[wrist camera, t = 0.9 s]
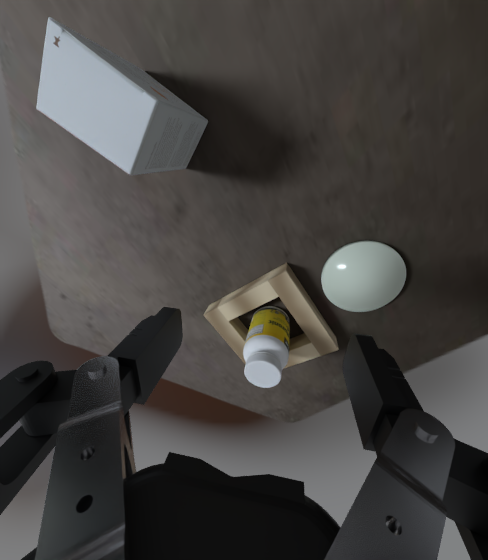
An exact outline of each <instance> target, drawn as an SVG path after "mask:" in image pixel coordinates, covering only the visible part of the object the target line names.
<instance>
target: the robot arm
mask: <svg viewBox="0 0 488 560" xmlns="http://www.w3.org/2000/svg"><path fill="white" fill-rule="evenodd" d="M182 337H183V334H182V320H181V311H180V309H176V308H168V307H163V308H162V309H161V310H160V311H159V312H158V313H157V314H156V315H155V316H150V317H148V318H146V319H144V320H143V321H141V322H140V323H139V324H138V325H137V326H136V327H135V329H133V330H132V331H131V332H130V333H129V335H127V336H126V337H125V339H124V340H123V341H122V342H121V343H120V344H119V345H118V346H117V347H116V348H115V349H114V350H113V351H112V352H111V353H110V354H109V355H108V356H101V357H97V358H94V359H91V360H89V361H88V362H85V363H84V364H83V365H81V366H80V367H79V368H78V369H77V370H69V371H58V372H55V370H54V367H53V365H52V363H50V362H48V361H35V362H31V363H28V364H25V365H23V366H20V367H19V368H17V369H15V370H13V371H12V372H10V373H9V374H8V375H6V376H5V377H4V378H2V379H1V380H0V438H1V437H2V436H3V435H4V434H5V433H6V432H7V431H8V430H9V429H10V428H11V427H12V426H13V425H14V424H16V422H18V420H19V421H20V423H21V424H22V426H21V427H20V428H19V429H18V430H17V431H16V432H15V433H14V434H13V435H12V436H11V437H10V438H9V439H8V440H7V441H6V442H5V443H4V444H3V445H2V446H1V447H0V515H1V513H2V512H3V511H4V509H5V508H6V507H7V506H8V505H9V503H10V502H11V501H12V500H13V498H14V497H15V496H16V494H17V493H18V492H19V490H20V489H21V488H22V487H23V485H24V484H25V483H26V482H27V480H28V479H29V478H30V477H31V475H32V474H33V473H34V472H35V470H36V469H37V468H38V467H39V465H40V464H41V463H42V462H43V460H44V459H45V458H46V457H47V455H48V454H49V453H50V451H51V450H52V449H53V448H54V447H55V450H54V455H53V461H52V466H51V472H50V478H49V483H48V489H47V495H46V500H45V506H44V511H43V517H42V522H41V528H40V534H39V539H38V545H37V547H36V548H35V549H34V550H33V551H31V552H30V553H29V554H27V555H26V556H25V557H23V558H22V559H21V560H437V557H438V552H439V548H440V543H441V538H442V534H443V529H444V525H445V520H446V517H448V518H450V519H452V520H454V521H455V523H456V526H457V528H458V530H459V532H460V535H461V537H462V539H463V542H464V544H465V546H466V549H467V551H468V554H469V556H470V558H471V560H488V453H486V452H484V451H481V450H479V449H477V448H474V447H472V446H469V445H467V444H465V443H462V442H460V441H458V440H456V439H454V438H453V436H452V434H451V433H450V431H449V430H448V429H447V428H446V427H445V426H444V425H443V424H442V423H441V422H440V421H439V420H437V419H436V418H435V417H433V416H432V415H430V414H428V413H426V412H424V411H423V409H422V407H421V405H420V404H419V402H418V400H417V398H416V396H415V395H414V393H413V391H412V389H411V388H410V386H409V384H408V382H407V381H406V379H404V378H405V377H404V375H403V373H402V372H401V371H400V368H399V366H398V365H397V363H396V361H395V359H394V358H393V357H392V356H391V355H390V354H389V353H387V352H386V351H385V350H384V349H378V347H377V345H376V343H375V341H374V339H373V337H372V336H369V335H362V334H355V333H353V334H352V335H351V336H350V340H349V343H348V346H347V350H346V353H345V357H344V360H343V374H344V378H345V382H346V385H347V389H348V393H349V396H350V400H351V404H352V408H353V411H354V414H355V419H356V422H357V426H358V429H359V433H360V437H361V441H362V444H363V448H364V449H366V450H371V451H376V454H377V459H376V460H375V462H374V464H373V466H372V468H371V470H370V472H369V474H368V476H367V478H366V480H365V482H364V484H363V486H362V488H361V490H360V491H359V493H358V495H357V497H356V499H355V501H354V503H353V505H352V507H351V509H350V511H349V513H348V515H347V517H346V519H345V521H344V522H343V524H342V526H341V528H340V527H339V526H338V524H337V522H336V521H335V520H334V519H333V518H332V517H331V516H330V515H329V514H328V513H327V512H326V511H325V510H324V509H323V508H322V507H321V506H320V505H318V504H317V503H316V502H314V501H313V500H312V499H310V498H309V497H307V496H305V495H304V482H301V481H297V480H292V479H288V478H283V477H278V476H274V475H270V474H266V475H253V476H241V477H231V476H229V475H227V474H225V473H224V472H222V471H220V470H218V469H217V468H215V467H213V466H212V465H210V464H208V463H206V462H205V461H203V460H201V459H198V458H194V457H189V456H185V455H180V454H176V453H171V452H169V454H168V456H167V458H166V461H165V463H164V464H158V465H153V466H150V467H147V468H145V469H142V470H140V471H138V472H136V467H135V461H134V452H133V442H132V432H131V421H130V413H129V409H130V408H131V406H132V405H133V403H138V404H143V405H144V404H145V402H146V401H147V399H148V397H149V396H150V394H151V393H152V391H153V389H154V388H155V386H156V385H157V383H158V381H159V380H160V378H161V376H162V375H163V373H164V372H165V370H166V368H167V367H168V365H169V364H170V362H171V360H172V359H173V357H174V356H175V354H176V352H177V351H178V349H179V348H180V345H181V342H182Z"/></svg>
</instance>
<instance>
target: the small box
mask: <svg viewBox="0 0 488 560" xmlns="http://www.w3.org/2000/svg"><path fill="white" fill-rule="evenodd" d="M37 110H38V111H40V112H41V113H43V114H44V115H45V116H47V117H48V118H50V119H51V120H52V121H54V122H55V123H57V124H58V125H60V126H61V127H62V128H64V129H65V130H67V131H68V132H70V133H71V134H72V135H74V136H75V137H77V138H78V139H80V140H81V141H82V142H84V143H85V144H87V145H88V146H89V147H91V148H92V149H94V150H95V151H97V152H98V153H99V154H101V155H102V156H104V157H105V158H106V159H108V160H109V161H111V162H112V163H113V164H115V165H116V166H118V167H119V168H120V169H122V170H123V171H125V172H126V173H128V174H129V175H140V174H148V173H156V172H164V171H172V170H180V169H186V168H187V165H188V163H189V161H190V159H191V157H192V155H193V153H194V151H195V149H196V147H197V145H198V143H199V141H200V138H201V136H202V134H203V132H204V130H205V128H206V126H207V124H208V120H207V119H206V118H204V117H203V116H202V115H200V114H199V113H198V112H196V111H195V110H194V109H193V108H191V107H190V106H189V105H187V104H186V103H185V102H183V101H182V100H181V99H180V98H178V97H177V96H176V95H174V94H173V93H172V92H170V91H169V90H168V89H167V88H165V87H164V86H163V85H161V84H160V83H159V82H157V81H156V80H155V79H154V78H152V77H151V76H150V75H148V74H147V73H146V72H145V71H144V70H142V69H141V68H139V67H137V66H135V65H134V64H132V63H130V62H129V61H127V60H125V59H123V58H122V57H120V56H118V55H116V54H115V53H113V52H111V51H110V50H108V49H106V48H104V47H102V46H101V45H99V44H97V43H95V42H93V41H92V40H90V39H88V38H86V37H84V36H82V35H81V34H79V33H77V32H76V31H74V30H72V29H70V28H69V27H67V26H65V25H63V24H61V23H60V22H58V21H56V20H55V19H53V18H51V17H49V18H48V23H47V30H46V37H45V45H44V52H43V60H42V67H41V75H40V83H39V90H38V98H37Z"/></svg>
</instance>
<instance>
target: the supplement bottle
mask: <svg viewBox="0 0 488 560" xmlns="http://www.w3.org/2000/svg"><path fill="white" fill-rule="evenodd" d="M289 340H290V320H289V317H288V315H287V314H286V313H285V312H284V311H283V310H281V309H280V308H277V307H274V306H265V307H262V308H260V309H258V310H257V311H256V312H255V313H254V315H253V317H252V320H251V324H250V327H249V331H248V334H247V338H246V341H245V345H244V349H243V356H244V360H245V362H246V365H245V370H244V373H245V376H246V378H247V379H248V381H249V382H251V383H252V384H254V385H256V386H259V387H263V388H269V387H273V386H275V385H277V384H278V383H279V382H280V380H281V374H282V369H283V368H284V367H285V366H286V364H287V362H288V358H289Z"/></svg>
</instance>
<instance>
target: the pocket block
mask: <svg viewBox="0 0 488 560" xmlns="http://www.w3.org/2000/svg"><path fill="white" fill-rule="evenodd" d="M277 297H280V299H281V300H282V302H283V303H284V305H285V306H286V307H287V309H288V310H289V312H290V313H291V314H292V316H293V317H294V319H295V320H296V322H297V323H298V324H299V326H300V327H301V329H302V330H303V331H304V333H303V334H301V335H298V336H296V337H293V338H291V339H290V340H289V358H288V362H287V364H286V366H285V367H284V368H287V367H290V366H293V365H296V364H299V363H302V362H304V361H307V360H310V359H313V358H316V357H319V356H322V355H325V354H328V353H331V352H334V351H337V350H339V348H338V344H337V339H336V336H335V335H334V333H333V332H332V330H331V329H330V327H329V326H328V324H327V323H326V321H325V320H324V318H323V317H322V315H321V314H320V312H319V310H318V309H317V307H316V306H315V304H314V303H313V301H312V300H311V298H310V297H309V295H308V294H307V292H306V291H305V289H304V288H303V286H302V285H301V283H300V282H299V280H298V279H297V277H296V276H295V274H294V273H293V271H292V270H291V268H290V267H289V265H288V264H287V263H285V264H283V265H282V266H280V267H278V268H276V269H274V270H272V271H271V272H269V273H267V274H265V275H263V276H261V277H260V278H258V279H256V280H254V281H252V282H251V283H249V284H247V285H245V286H243V287H241V288H240V289H238V290H236V291H234V292H232V293H230V294H229V295H227V296H225V297H223V298H221V299H219V300H218V301H216V302H214V303H212V304H210V305H209V307H208V308H207V310H206V312H205V313H204V316H205V317H206V318H207V320H208V321H209V322H210V323H211V324H212V325H213V327H214V328H215V329H216V330H217V331H218V333H219V334H220V335H221V336H222V337H223V338H224V340H225V341H226V342H227V343H228V344H229V346H230V347H231V348H232V349H233V350H234V352H235V353H236V354H237V355H238V356H239V357H240V359H241V360H242V361H243V362H244V363H245V365H246V362H245V360H244V356H243V349H244V345H245V341H246V338H247V334H248V329H247V328H246V327H245V326H244V324H243V323H242V322H241V321H240V319H239V318H238V316H240V315H242V314H244V313H246V312H249V311H251V310H253V309H255V308H257V307H259V306H261V305H263V304H265V303H267V302H269V301H271V300H273V299H275V298H277ZM284 368H283V369H284Z"/></svg>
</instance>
